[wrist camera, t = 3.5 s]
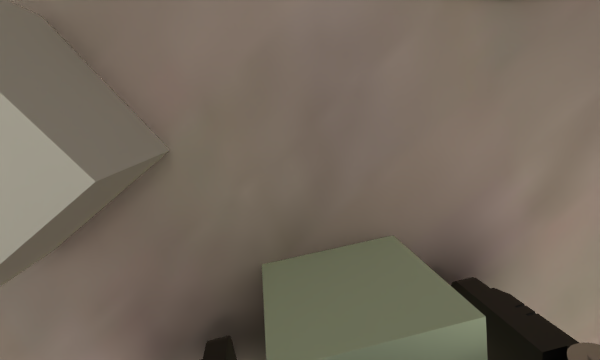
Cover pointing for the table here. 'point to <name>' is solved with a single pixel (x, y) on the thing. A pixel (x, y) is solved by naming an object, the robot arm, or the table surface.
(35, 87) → the grey cube
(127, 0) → the table surface
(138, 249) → the table surface
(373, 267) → the green cube
